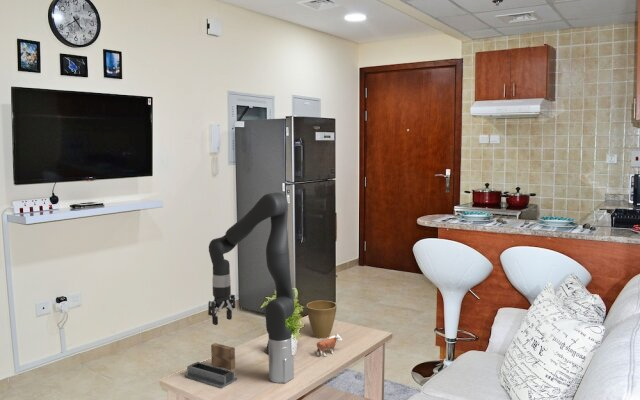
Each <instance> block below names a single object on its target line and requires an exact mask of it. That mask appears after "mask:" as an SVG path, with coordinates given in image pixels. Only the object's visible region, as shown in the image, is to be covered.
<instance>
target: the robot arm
mask: <svg viewBox="0 0 640 400" xmlns="http://www.w3.org/2000/svg"><path fill="white" fill-rule="evenodd" d="M288 215H289V203H288V200H287V197H286V196H285V194H283V193H282V192H271V193H266V194H264V195H263V196H261V197H260V198H259V200H258V201H257V202H256V203H255V204H254V205H253V207H252V208H251V209H250V210H249V211H248V212H247V213H246V214H245V215H244V216H242V218H240V219H239V220H238V221H237V222H236V223H234V224H232V225H231V226H230V227H229V228H228V229H227V230H226V232H225V235H223V236H221V237H217V238H213V239H211V241H210V242H209V245H208V252H209V257H210V260H211V263H212V278H211V279H212V280H211V281H212V296H213V301H212V300H211V301H210V300H209V301H208V309H207V311H208V312H207V313H208V316H210V317H211V318H212V324H213V325H214V326H218V325H219V319H218V318H219V316H218V315H219V313H220V312H221V310H222V309H226V320H228V321H229V320H230V321H231V320H233V319H232V317H233V309H236V297H235V296H236V295H235V294H232V289H231V288H232V287H231V286H232V285H231V281H232V280H231V272H230V271H231V269H230V267H231V265H230V261H229V260H228V259H225V257H224V254H228V253H229V252H231V251H232V250H234V249H235V247H236V246H237V245H238V244H239V243H240V242H241V241H243V240H244V239H245V238H247V237H248V236H249V235H250V234H251V233H252V232H253V231H254V229H255V227H256V226H257V225H259V224H260V223H261V222H263V221H265V220H267V219H268V218H270V232H269V236H268V239H267V243H266V247H265V258H266V266H267V270H268V272H269V274H270V275H271V278H272V280H273V281H274V284H275V293H276V295H275V298H274V299H272V300H269V301H268V302H267V303H266V306H265V312H264V313H265V326H266V327H265V328H266V331H267V336H268V340H269V354H268V379H269V380H270V382H273V383H276V384H277V383H278V384H280V383H281V384H282V383H283V384H286V383H288V382H290V381H291V380H293V379H294V378H295V367H294V366H295V364H294V363H295V360H294V359H295V355H293V353H292V330H291V329H290V328H289V327H287V321H286V320H287V319H289V318H291V317H292V316H293V315H294V312H295V310H296V309H295V299H294V294H293V293H294V292H293V286H292V280H291V279H292V276H291V264H290V262H291V261H290V248H289V247H290V246H289V235H288V234H289V232H288V218H289V217H288Z"/></svg>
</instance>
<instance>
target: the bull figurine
mask: <svg viewBox="0 0 640 400" xmlns="http://www.w3.org/2000/svg"><path fill="white" fill-rule="evenodd" d="M342 341H343V338H342V337H341V336H340V335H339V334H338V333H337V334H335V335H331V336H329V337H328V338H324V339H322V340H319V341H317V343H316V348H317V350H316V353H317V356H318V357H319V356H322V355H323V356H324V357H327V356H328V355H327V354H326V353H325V351H327V350H329V351H330V353H331V354H333V355H334V354H335V353H334V350H335V347H336V346H337V344H338V343H339V342H342Z"/></svg>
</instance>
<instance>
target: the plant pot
mask: <svg viewBox="0 0 640 400" xmlns="http://www.w3.org/2000/svg"><path fill="white" fill-rule="evenodd" d="M337 307H338V306H337V303H336V302H334V301H331V300H314V301H311V302H308V303H306V311H307V316H308V321H309V324H310V329H311V331H312V333H313V337H315V338H316V337H317V339H320V338H324V339H328V338H329V337H331V336H330V335H331V334H332V333H331V332H332V330H333V326H334V323H335V318H336V312H337ZM327 337H328V338H327Z"/></svg>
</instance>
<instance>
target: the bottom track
mask: <svg viewBox="0 0 640 400" xmlns="http://www.w3.org/2000/svg"><path fill="white" fill-rule="evenodd" d="M186 367H187V371H186V372H187V373H185V374H184V378H186V379H190V380H192V381H196V382H200V383H203V384H205V385H210V386H213V387H217V388H219V389H220V388H221V389H223V388H226V387H227V386H228V385H231V384H232V383H234V382H236V381H237V380H238V377H236V376H235V371H233V370H228V369H224V368H221V367H217V366H214V365H212V364H207V363H204V362H200V361H196V362H194V363H192V364H190V365H188V366H186Z"/></svg>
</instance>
